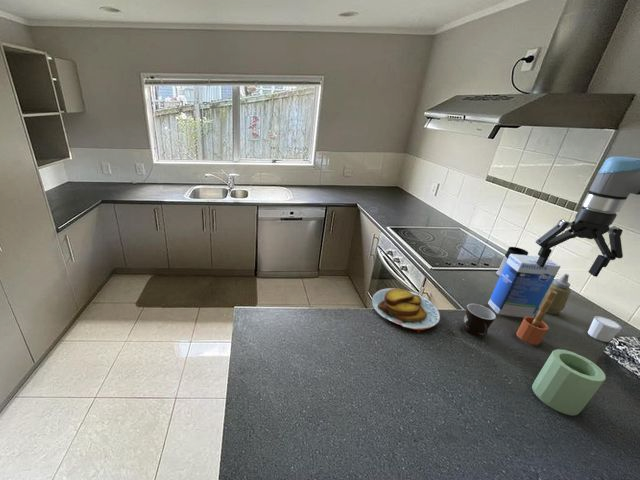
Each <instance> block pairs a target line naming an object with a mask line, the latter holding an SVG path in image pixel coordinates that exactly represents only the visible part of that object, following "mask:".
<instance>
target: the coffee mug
mask: <svg viewBox="0 0 640 480" xmlns="http://www.w3.org/2000/svg"><path fill="white" fill-rule="evenodd" d="M496 318H497V316H496V314H495V311H494V310H493V311H492V309H490V308H488V307H486V306H484V305H481V304H477V303H468V304H467V305H466V309H465V313H464V318H463V322H462V327H461V328H462V330H463V331H464V332H465V333H467V334H468V335H470V336H473V337H475V338H481V337H483V336H485V335H487V334H488V330H489V328H490V326H491V325H492V323H493V322H494V321H495V319H496Z"/></svg>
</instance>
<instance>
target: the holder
mask: <svg viewBox="0 0 640 480" xmlns="http://www.w3.org/2000/svg"><path fill="white" fill-rule="evenodd" d="M510 254H518V255H528V256H529V252H528V251H527V250H526V249H525V248H524V249H523V248H520V247H516V246H509V247H508V248H507V251H506V253H505V254H504V256H503V258H502V261H501V262H500V265H499V268H498V270H497V271H495V274H496V275H497V276H499V277H500V276H501V273H502V271H503V269H504V267H505V264H506V262H507V260H508V258H509V255H510Z"/></svg>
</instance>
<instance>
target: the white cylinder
mask: <svg viewBox="0 0 640 480" xmlns="http://www.w3.org/2000/svg"><path fill="white" fill-rule="evenodd" d="M622 329H623V326H621V324H619V323H618V322H617V321H614V320H612V319H610V318H608V317H605V316H601V315H596V316H595V315H594V317H593V320H592V322H591V324H590V326H589V328H588V330H587V334H588V336H590V337H592V338H593V339H595V340H597V341H601V342H603V343H609V342H611V341H612V339H614V338H615V336H616V335H617V334H618V333H620V332H621V330H622Z"/></svg>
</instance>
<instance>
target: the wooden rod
mask: <svg viewBox="0 0 640 480" xmlns="http://www.w3.org/2000/svg"><path fill="white" fill-rule="evenodd" d="M556 294H557V292H556V291H553V290H550V291H549V293H548V295H547V297H546V298H545V300H544V302H543V304H542V306H541V308H538V310H537V312H536V315H535V316H534V318H535V319H534V320H533V322H532V324H531V325H533V326H535V327H538V326H539V324H540V323H541V321H543V319H544V317H545V316H546V314H547V310H548V308H549V307H550V305H551V303H552V301H553V299H554V298H555V296H556Z"/></svg>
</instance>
